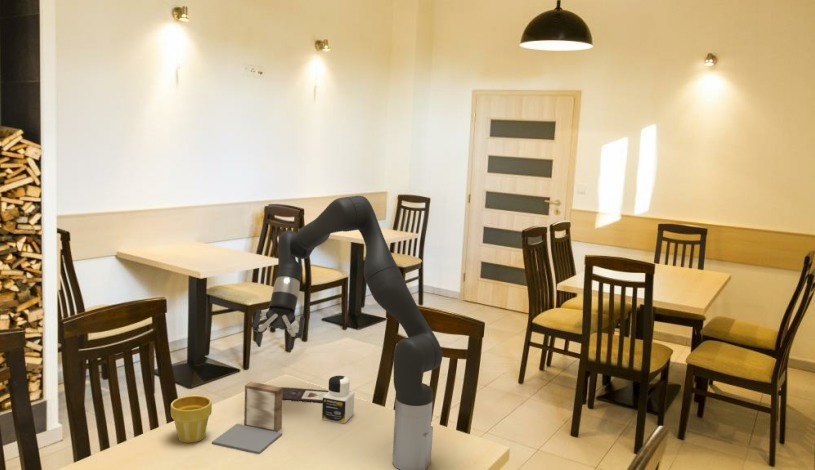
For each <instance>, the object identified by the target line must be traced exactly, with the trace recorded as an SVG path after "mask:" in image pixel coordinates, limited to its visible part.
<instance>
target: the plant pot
mask: <svg viewBox="0 0 815 470" xmlns="http://www.w3.org/2000/svg"><path fill="white" fill-rule="evenodd" d="M212 406H213V405H212V400H211V398H210V397H208V396H204V395H197V394H196V395H193V394H192V395H186V396H182V397H181V396H180V397H179V398H176V399H174V400H173V401H172V402H171V403H170V416H171V419H172V420H173V421H174V424H175V430H176V433H177V434H176V435H177V436H178V440H179V441H181V442H182V443H187V444H189V443H191V444H193V443H197V442H200V441H202V440H203V439H204V438H205V437H206V431H207V428H208V427H207V426H208V423H209V422H208V421H209V417H210V416H211V415H212V410H213V409H212V408H213V407H212Z"/></svg>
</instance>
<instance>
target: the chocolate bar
mask: <svg viewBox="0 0 815 470" xmlns="http://www.w3.org/2000/svg"><path fill="white" fill-rule="evenodd" d="M282 387H283V398H282V401H286V400H291V402H299V401H302V403H311V402H313V403H314V404H323V396H324V395H325V394H327V393H328V392H329V391H328V390H325V389H312V388H311V389H309V388H297V387H284V386H282ZM313 403H312V404H313Z"/></svg>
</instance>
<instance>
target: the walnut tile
mask: <svg viewBox="0 0 815 470" xmlns="http://www.w3.org/2000/svg"><path fill="white" fill-rule="evenodd" d="M283 387H284V386H278V385H277V386H275V385H271V384H265V383H260V382H254V381H250V382H247V383H246V384H245V385H244V418H243V419H244V420H243V425H246V426H250V427H255V428H260V429H265V430H270V431H275V432H280V431H281V430H282V428H283V400H282V398H283Z"/></svg>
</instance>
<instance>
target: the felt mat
mask: <svg viewBox="0 0 815 470" xmlns="http://www.w3.org/2000/svg"><path fill="white" fill-rule="evenodd" d="M281 436H283V432H280V431H278V432H275V431H270V430H265V429H260V428H255V427H250V426H246V425H244V424H239V423H236V424H234V425H233V426H231V427H230V428H229V429H227V430H226V431H225V432H223V433H222V434H220V435H219V436H218V437H216V438H215V439H214V440H212V441H211V444H212V445H214V446H215V445H216V446H221V447H225V448H229V449H234V450H239V451H243V452H248V453H252V454H257V455H260V454H261V453H262V452H264V451H265V450H267V448H269V447H270V446H271V445H272V444H273V443H275V442H276V441H277V440H278V439H279V438H280V437H281Z"/></svg>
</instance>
